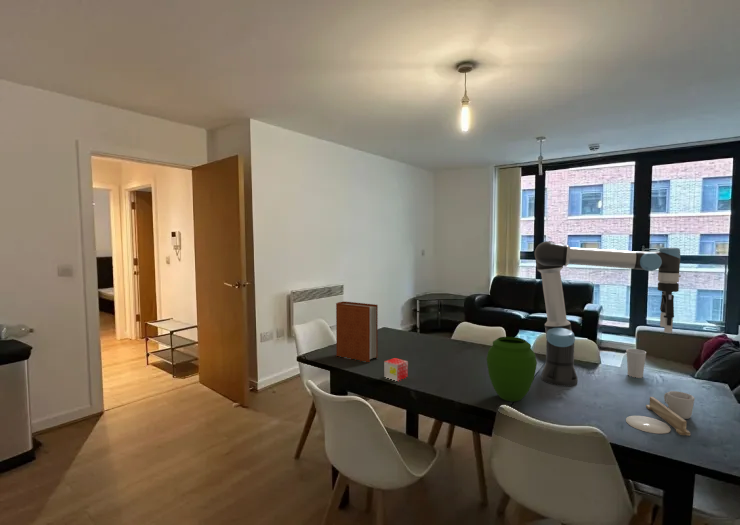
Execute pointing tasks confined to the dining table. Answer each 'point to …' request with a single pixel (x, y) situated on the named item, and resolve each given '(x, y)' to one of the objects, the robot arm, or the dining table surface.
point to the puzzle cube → (396, 369)
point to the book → (357, 330)
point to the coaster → (648, 424)
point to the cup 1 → (635, 362)
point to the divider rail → (668, 416)
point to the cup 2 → (680, 403)
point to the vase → (511, 367)
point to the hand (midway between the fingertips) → (665, 329)
